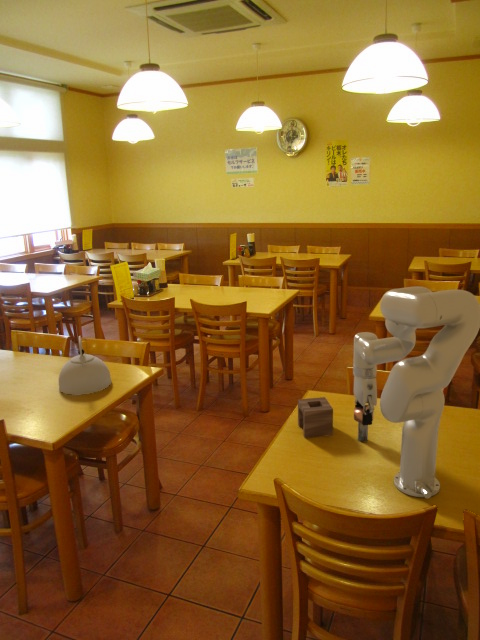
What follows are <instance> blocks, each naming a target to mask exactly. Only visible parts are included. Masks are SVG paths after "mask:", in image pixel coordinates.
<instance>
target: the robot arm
mask: <svg viewBox="0 0 480 640" xmlns="http://www.w3.org/2000/svg"><path fill="white" fill-rule="evenodd" d="M379 307H380V308H379V309H380V312H381V314H382V317H383V318H384V319H385V322H384V325H385V328H386V330H387V332H388V333H389V334H390V335H391V337H385V338H383V337H382V338H378V336H377V335H376V334H375V333H373V332H369V331H365V332H364V331H363V332H358V333H356V334H355V335H354V337H353V359H352V360H353V363H352V375H353V376H354V377H353V396H354V397H355V401H354V403H355V404H354V408H356V407H360V406H363V412H364V414H363V416H362V424H363V425H368V426H372V425H373V421H372V414H373V415H374V411H375V407H376V406H377V405H378V390H377V389H378V388H377V378H376V377H377V373H378V372H377V371H378V365H381V364H387V363H391V362H392V363H393V362H396V363H395V364H393V366H392V368H391V370H390V372H389V374H388V376H387V380H386V381H385V384H384V387H383V389H382V392H381V395H380V400H379V409H380V412H381V414H382V416H383V417H384V418H385V420H386V421H388V422H391V423H394V424H397V423H399V424H400V423H403V425H402V429H401V447H400V463H399V472H397V473H395V475H394V477H393V483H394V486H395V488H397V489H398V490H399V491H400V492H402V493H404V494H406V495H408V496H411V497H416V498H425V499H430V498H432V496H433V497H434V496H435V495H437V494H438V493H439V492H440V491H441V490H440V489H441V484H440V481H439V480H438V478H436V467H437V466H436V463H437V451H438V439H439V428H440V422H441V417H442V414H443V411H444V406H445V402H446V401H445V394H444V391H443V390H444V389H445V388H447V387H448V386H449V384H450V383H451V381H452V380H453V378H454V376H455V374H456V372H457V370H458V368H459V366H460V364H461V362H462V361H463V359H464V357H465V354H467V353H466V352H468V350H469V348H470V346H471V345H472V344H473V342H474V340H475V339H476V337H477V335H478V333H479V330H480V302H479V300H478V299H477V297H476V296H475V295H474V293H472V292H470V291H468V290H464V289H463V290H462V289H447V290H438V291H432V290H431V289H429V288H428V287H425V286H418V285H417V286H408V287H401V288H400V287H399V288H393V289H390V290H388V291H386V292H385V293H384V294H383V296H382V297H381V299H380V305H379ZM441 326H443V327H442V328H441V329H440V330H439V331H438V332H437V333H436V334H435V335H434V336H433V338H432V339H431V341H430V342H429V344H428V346H427V349H426V350H425V352H424V353H423V354H422V355H419V356H418V355H417V356H413V357H409V358H406V357H407V356H408V355H409V354H410V353H411V352H412V350H413V349H414V347H416V346H415V345H416V340H417V336H416V331H417V329H428V328H434V327H441ZM366 407H369V409H367V410H366Z"/></svg>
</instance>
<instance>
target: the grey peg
mask: <svg viewBox="0 0 480 640" xmlns="http://www.w3.org/2000/svg"><path fill="white" fill-rule="evenodd" d="M367 409H369V407H366V410H367ZM363 414H364V412H363V406H360V407H356V408H355V407H354V408H353V420H354V421H355V422H357V423H358V424H357V427H358V429H357V440H358V442H360V443H367V442H368V440H369V438H368V437H369V436H368V435H369V425H363V424H362V416H363ZM373 421H374V413H373V414H372V422H373Z"/></svg>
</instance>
